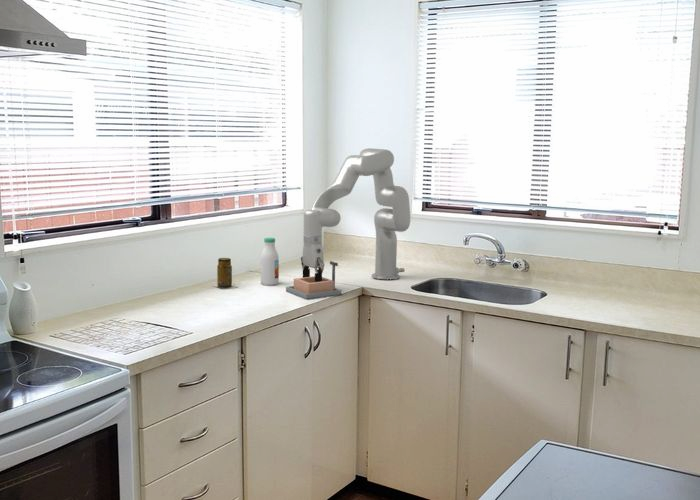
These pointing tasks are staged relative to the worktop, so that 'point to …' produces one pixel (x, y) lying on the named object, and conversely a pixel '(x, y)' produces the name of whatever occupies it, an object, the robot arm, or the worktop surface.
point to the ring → (313, 285)
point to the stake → (333, 270)
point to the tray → (313, 295)
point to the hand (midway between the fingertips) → (312, 280)
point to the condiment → (224, 274)
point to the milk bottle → (269, 263)
